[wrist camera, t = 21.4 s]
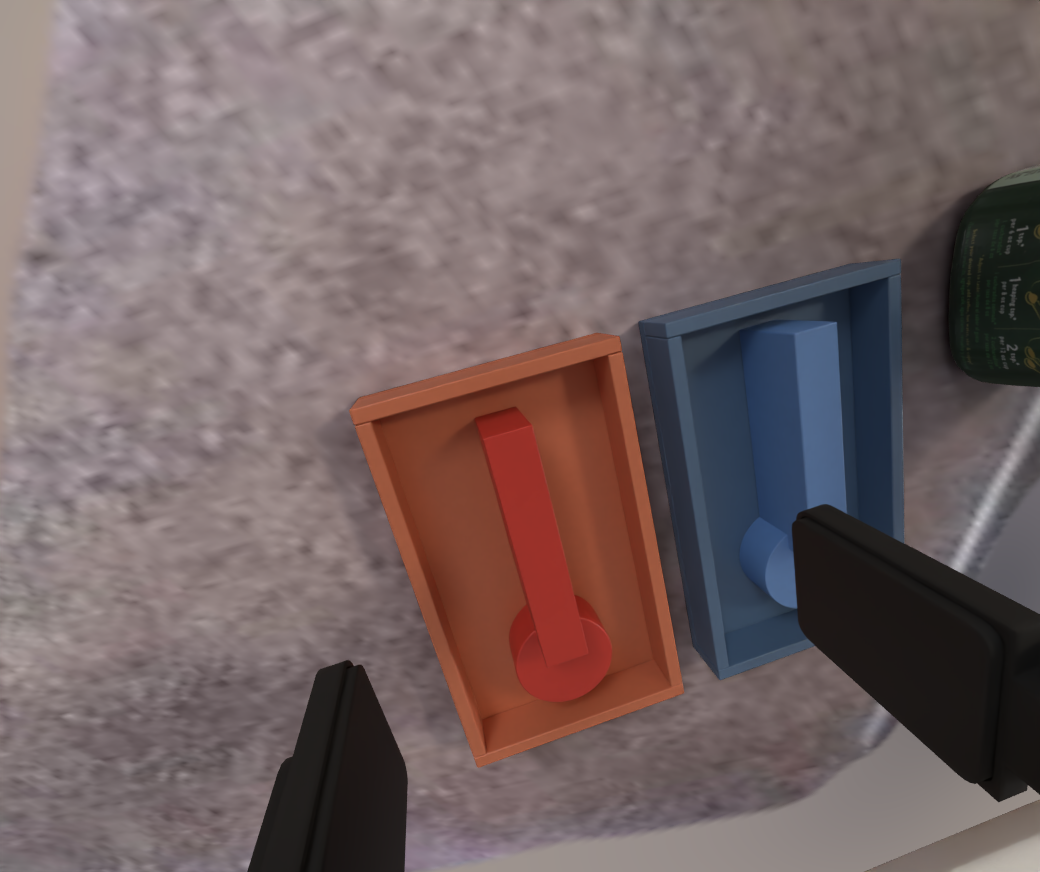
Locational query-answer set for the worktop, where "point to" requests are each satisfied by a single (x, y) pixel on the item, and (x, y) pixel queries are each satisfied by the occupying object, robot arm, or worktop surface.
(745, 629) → the tray blue
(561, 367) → the tray orange
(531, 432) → the red bar with disc
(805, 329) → the blue bar with disc
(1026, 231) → the coffee jar
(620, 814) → the worktop surface
